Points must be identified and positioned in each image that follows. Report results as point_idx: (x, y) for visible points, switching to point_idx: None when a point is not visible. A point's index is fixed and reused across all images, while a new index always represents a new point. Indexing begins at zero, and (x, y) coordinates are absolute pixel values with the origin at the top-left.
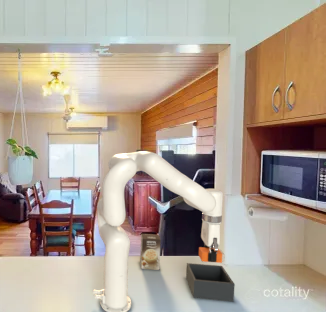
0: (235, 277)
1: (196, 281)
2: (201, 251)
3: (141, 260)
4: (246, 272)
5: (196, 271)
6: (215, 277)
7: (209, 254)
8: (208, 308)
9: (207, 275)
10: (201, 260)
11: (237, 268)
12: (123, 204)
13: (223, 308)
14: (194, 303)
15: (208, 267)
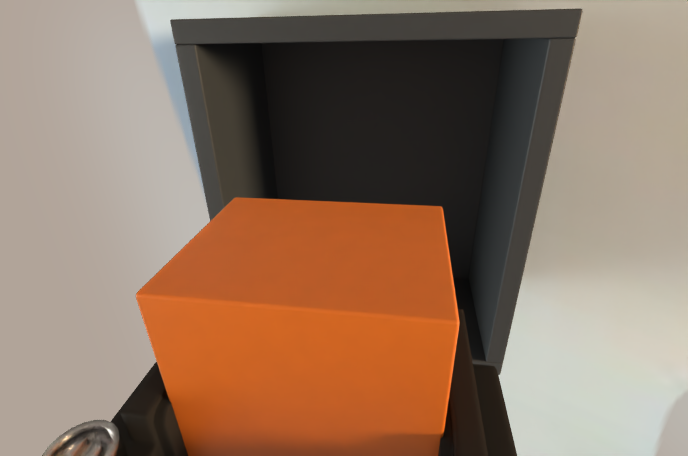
0: (528, 376)
1: (181, 45)
2: (215, 294)
3: None
4: (581, 447)
5: (508, 125)
6: (476, 264)
7: (148, 392)
8: (172, 102)
9: (485, 213)
10: (260, 198)
11: (635, 429)
12: None
13: (204, 193)
14: (189, 11)
15: (500, 257)
